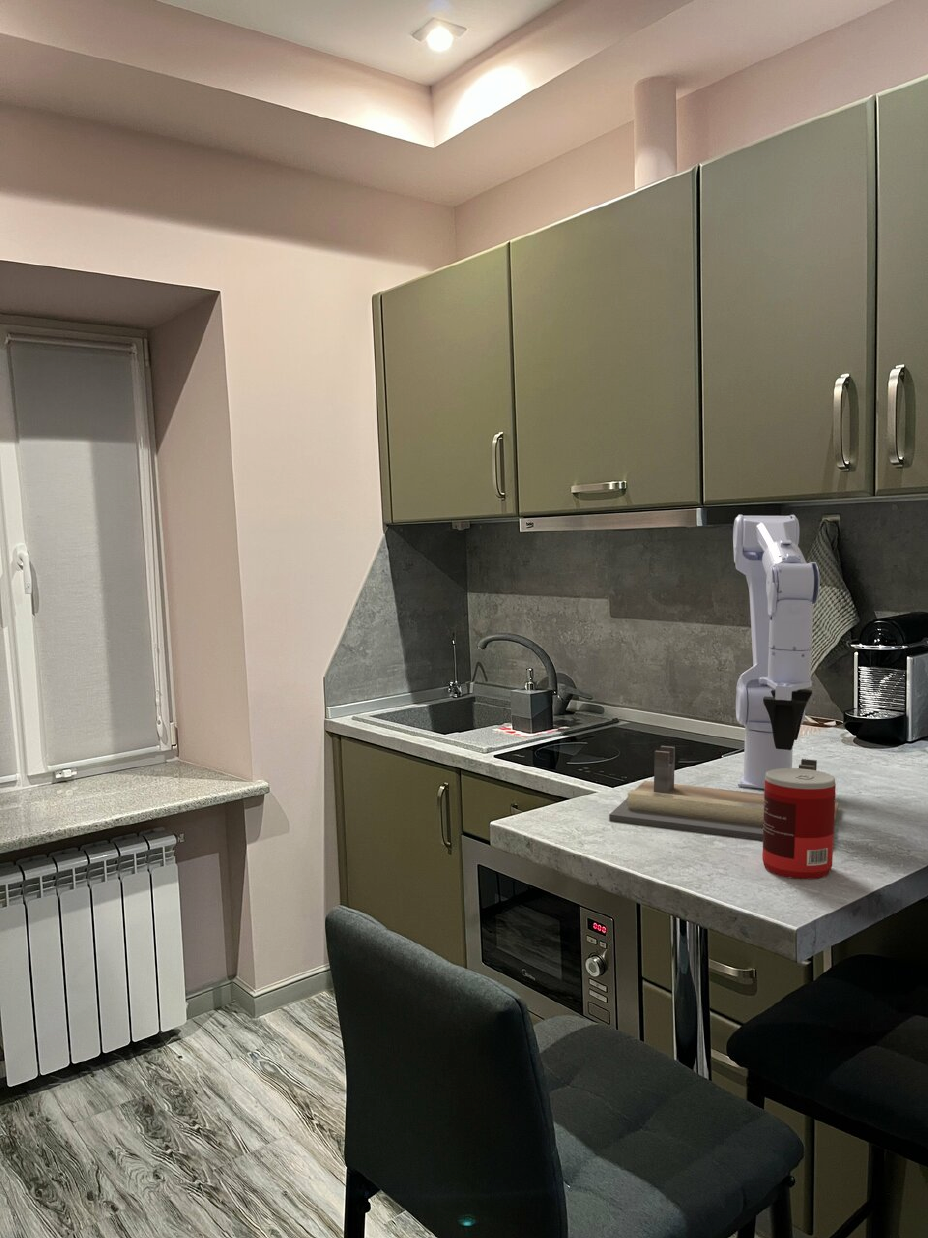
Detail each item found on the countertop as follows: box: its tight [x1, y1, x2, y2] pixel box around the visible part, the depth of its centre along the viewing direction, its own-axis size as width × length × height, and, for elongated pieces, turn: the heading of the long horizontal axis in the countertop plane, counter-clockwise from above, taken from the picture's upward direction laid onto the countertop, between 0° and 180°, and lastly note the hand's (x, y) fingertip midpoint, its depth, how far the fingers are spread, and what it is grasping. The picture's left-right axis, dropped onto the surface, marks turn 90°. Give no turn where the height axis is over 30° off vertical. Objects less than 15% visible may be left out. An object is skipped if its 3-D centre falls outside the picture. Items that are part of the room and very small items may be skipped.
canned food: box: [761, 767, 837, 880], centre depth 110 cm, size 8×8×11 cm
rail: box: [627, 789, 764, 825], centre depth 128 cm, size 2×25×2 cm, turn 66°
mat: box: [608, 797, 763, 841], centre depth 129 cm, size 10×28×1 cm, turn 66°
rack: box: [634, 745, 840, 827], centre depth 138 cm, size 9×28×7 cm, turn 66°
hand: (786, 744), depth 135 cm, fingers open, 7 cm apart
